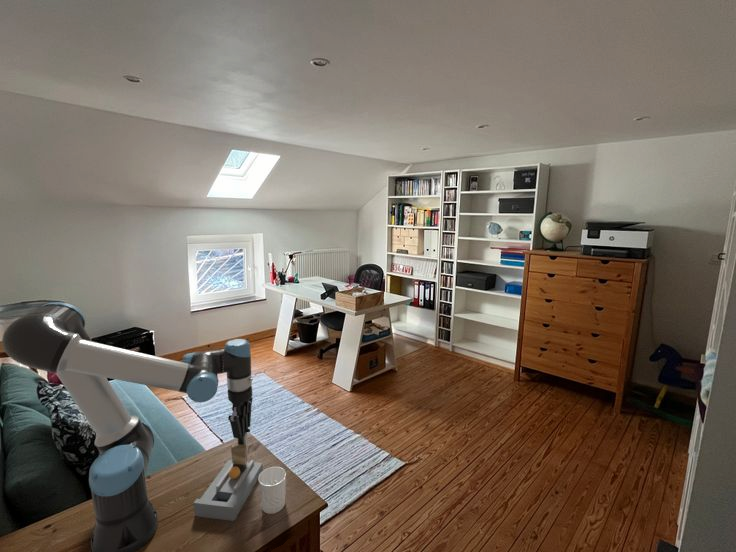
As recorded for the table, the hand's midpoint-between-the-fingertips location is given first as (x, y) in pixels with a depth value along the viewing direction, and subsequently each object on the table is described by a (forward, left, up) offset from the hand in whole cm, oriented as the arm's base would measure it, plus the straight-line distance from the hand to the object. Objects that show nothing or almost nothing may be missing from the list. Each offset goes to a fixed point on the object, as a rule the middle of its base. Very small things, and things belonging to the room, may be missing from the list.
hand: (243, 451), depth 121 cm
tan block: (0, -4, -4) cm, 5 cm away
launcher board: (0, -10, -7) cm, 12 cm away
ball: (0, -7, -2) cm, 7 cm away
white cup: (+15, -13, -7) cm, 21 cm away
